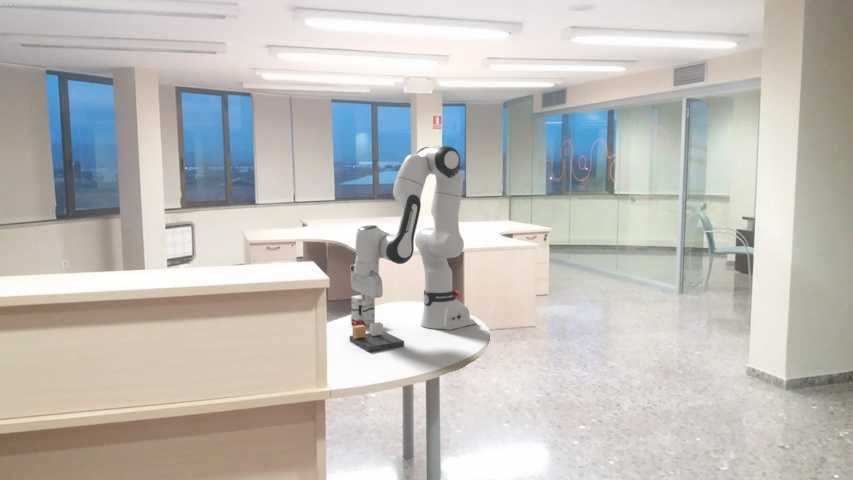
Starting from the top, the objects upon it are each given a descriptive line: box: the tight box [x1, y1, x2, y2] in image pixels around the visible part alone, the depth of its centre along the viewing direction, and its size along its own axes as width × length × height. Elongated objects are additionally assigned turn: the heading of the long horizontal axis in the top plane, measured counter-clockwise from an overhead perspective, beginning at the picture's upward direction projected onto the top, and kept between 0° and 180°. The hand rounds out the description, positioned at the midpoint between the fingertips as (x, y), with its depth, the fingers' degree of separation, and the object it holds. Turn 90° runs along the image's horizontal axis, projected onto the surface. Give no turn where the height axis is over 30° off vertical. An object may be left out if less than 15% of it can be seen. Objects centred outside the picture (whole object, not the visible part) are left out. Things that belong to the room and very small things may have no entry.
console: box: [349, 330, 405, 353], centre depth 235 cm, size 14×16×2 cm
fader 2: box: [369, 322, 384, 336], centre depth 239 cm, size 4×2×4 cm, turn 121°
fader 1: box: [352, 325, 367, 339], centre depth 235 cm, size 4×2×4 cm, turn 121°
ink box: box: [350, 294, 376, 327], centre depth 262 cm, size 8×5×12 cm, turn 123°
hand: (366, 305), depth 244 cm, fingers closed
